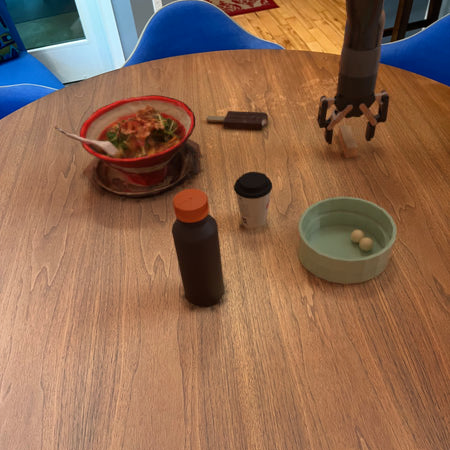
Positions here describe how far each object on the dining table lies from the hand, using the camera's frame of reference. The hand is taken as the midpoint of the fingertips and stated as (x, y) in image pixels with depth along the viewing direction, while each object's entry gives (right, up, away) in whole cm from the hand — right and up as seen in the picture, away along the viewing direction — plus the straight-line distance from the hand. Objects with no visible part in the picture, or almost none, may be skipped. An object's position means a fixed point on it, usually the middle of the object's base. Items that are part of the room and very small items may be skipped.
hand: (348, 141), depth 106 cm
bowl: (-6, -27, -20) cm, 34 cm away
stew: (-46, -8, 0) cm, 46 cm away
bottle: (-31, -34, -24) cm, 52 cm away
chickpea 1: (-5, -23, -20) cm, 31 cm away
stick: (0, -1, +1) cm, 1 cm away
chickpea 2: (-2, -24, -21) cm, 32 cm away
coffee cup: (-22, -20, -13) cm, 33 cm away
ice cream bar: (-25, +8, +11) cm, 28 cm away
